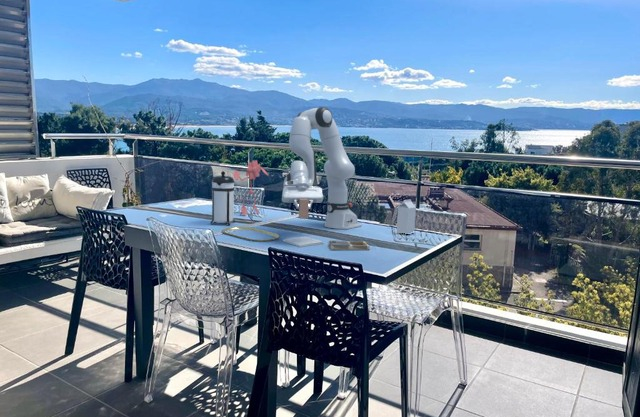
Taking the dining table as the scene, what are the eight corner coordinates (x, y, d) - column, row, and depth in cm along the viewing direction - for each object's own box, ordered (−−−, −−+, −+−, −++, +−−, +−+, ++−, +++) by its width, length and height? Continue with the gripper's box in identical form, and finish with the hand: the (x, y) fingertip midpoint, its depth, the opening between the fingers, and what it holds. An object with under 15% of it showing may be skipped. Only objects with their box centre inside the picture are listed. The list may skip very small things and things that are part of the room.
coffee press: (242, 224, 281) (242, 172, 277) (215, 226, 272) (215, 172, 268) (229, 219, 295) (229, 169, 291) (203, 221, 286) (203, 170, 282)
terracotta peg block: (298, 217, 240) (299, 199, 239) (306, 217, 240) (307, 199, 239) (300, 218, 236) (300, 199, 235) (308, 218, 236) (308, 199, 236)
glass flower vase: (229, 215, 308) (230, 159, 302) (259, 211, 327) (261, 159, 321) (245, 219, 298) (247, 162, 292) (276, 215, 318) (278, 161, 312)
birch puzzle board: (328, 245, 238) (328, 238, 237) (364, 245, 241) (364, 238, 240) (331, 250, 229) (331, 243, 228) (369, 250, 232) (369, 242, 231)
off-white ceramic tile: (305, 238, 252) (305, 236, 252) (323, 243, 241) (323, 241, 241) (283, 241, 243) (283, 239, 243) (300, 247, 232) (300, 245, 232)
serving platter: (258, 244, 237) (258, 241, 237) (215, 232, 260) (215, 229, 260) (286, 239, 251) (286, 236, 250) (243, 228, 274) (243, 225, 274)
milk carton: (414, 233, 274) (416, 200, 271) (407, 235, 269) (409, 201, 266) (403, 231, 279) (405, 198, 276) (396, 233, 273) (398, 199, 270)
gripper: (320, 190, 250) (324, 212, 241) (280, 190, 246) (282, 212, 238) (322, 182, 245) (326, 204, 237) (281, 182, 241) (283, 203, 233)
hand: (303, 208), depth 237 cm, fingers closed on terracotta peg block, 4 cm apart
